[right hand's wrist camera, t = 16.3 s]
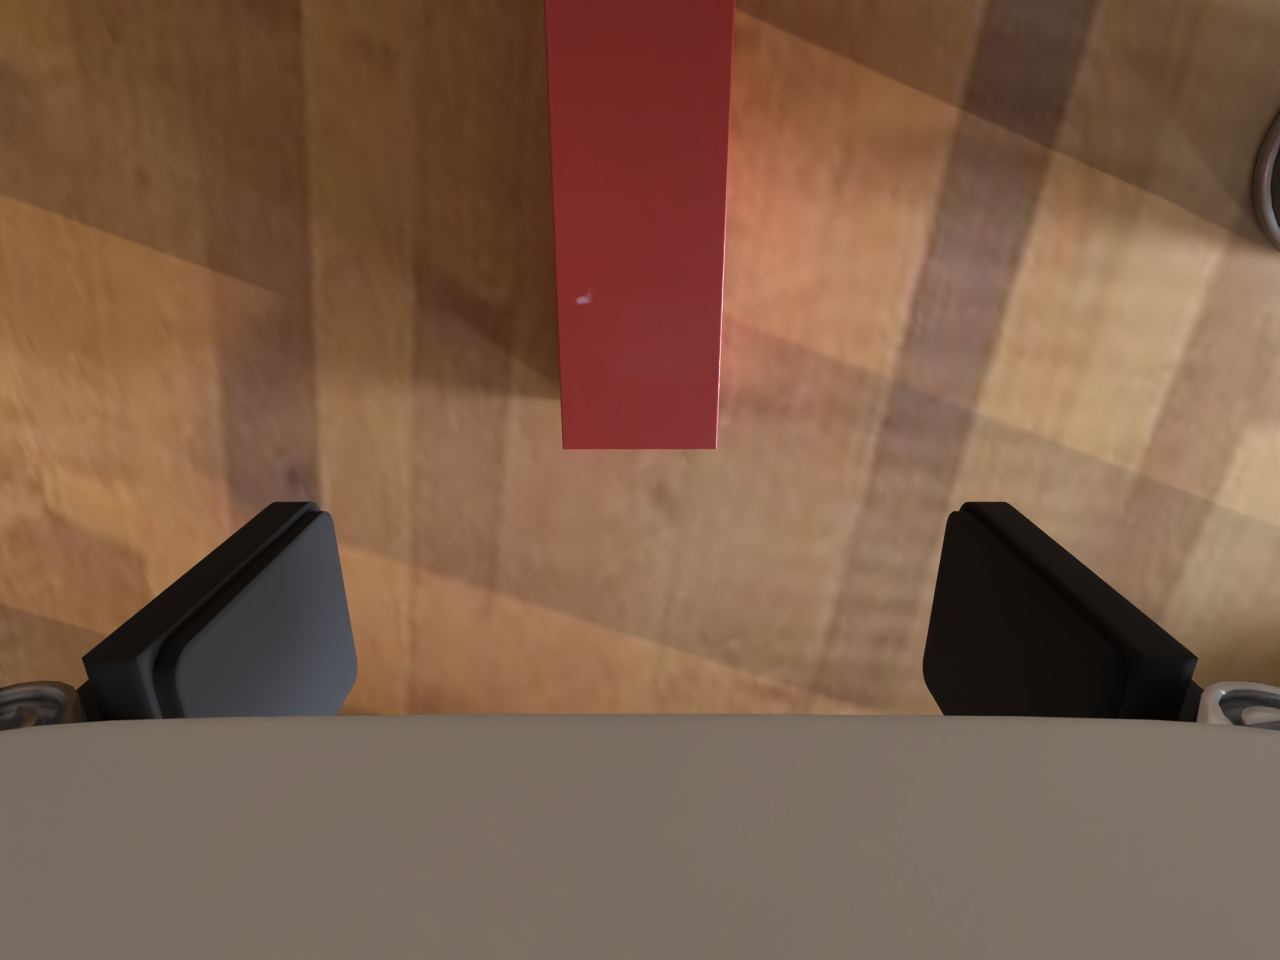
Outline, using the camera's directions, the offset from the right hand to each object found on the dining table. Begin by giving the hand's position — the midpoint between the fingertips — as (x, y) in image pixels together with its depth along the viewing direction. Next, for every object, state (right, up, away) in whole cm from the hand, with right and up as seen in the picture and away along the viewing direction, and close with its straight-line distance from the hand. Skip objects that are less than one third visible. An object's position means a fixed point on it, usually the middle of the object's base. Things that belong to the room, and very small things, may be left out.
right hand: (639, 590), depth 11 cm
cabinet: (0, +15, +23) cm, 28 cm away
